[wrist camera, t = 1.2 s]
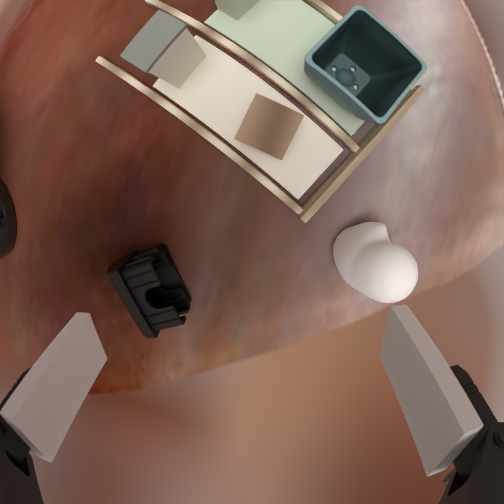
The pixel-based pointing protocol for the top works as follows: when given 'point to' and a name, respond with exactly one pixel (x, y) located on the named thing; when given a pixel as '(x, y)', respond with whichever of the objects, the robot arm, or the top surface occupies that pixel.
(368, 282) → the figurine
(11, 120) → the top surface
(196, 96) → the cream strip
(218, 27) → the sage strip
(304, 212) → the lane frame
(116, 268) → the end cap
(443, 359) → the robot arm
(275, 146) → the walnut block
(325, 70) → the flower pot
